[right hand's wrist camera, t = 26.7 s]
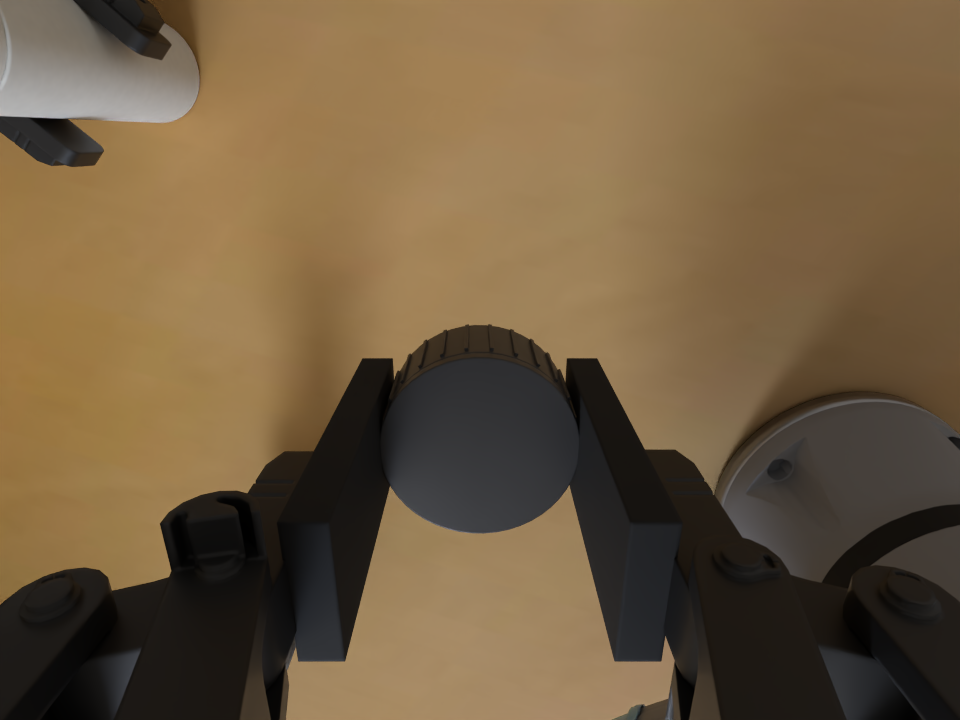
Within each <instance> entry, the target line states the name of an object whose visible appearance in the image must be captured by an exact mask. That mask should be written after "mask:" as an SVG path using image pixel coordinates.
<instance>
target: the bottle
mask: <svg viewBox="0 0 960 720" xmlns="http://www.w3.org/2000/svg"><path fill="white" fill-rule="evenodd" d="M159 33H161V34H162V35H163V36H164V37H165V38H166V39H167V40H168V41H169V42H170V43H171V44H172V46H171V47H170V49H169V50H168V52H167V54H166V55H165V57H164V58H163V60H158V59H154V58H150V57H145V56H142V55H140V54H138V53H136V52H134V51H133V50H131V49H130V48H128V47H127V46H126V45H125V44H123V43H122V42H121V41H120V40H119V39H118V38H116V37H115V36H114V35H113V34H112V33H111V32H109V31H108V30H107V29H106V28H105V27H104V26H102V25H101V24H100V23H99V22H98V21H97V20H95V19H94V18H93V17H92V16H91V15H90V14H88V13H87V12H86V11H85V10H84V9H83V8H81V7H80V6H79V5H78V4H77V3H76V2H74V1H73V0H0V116H12V117H35V118H59V119H83V120H107V121H131V122H155V123H165V122H171V121H174V120H177V119H179V118H181V117H182V116H184V115H185V114H186V113H187V112H188V111H189V110H190V109H191V108H192V106H193V104H194V103H195V100H196V98H197V95H198V92H199V85H200V77H199V70H198V65H197V62H196V59H195V57H194V54H193V52H192V50H191V49H190V47H189V45H188V44H187V43H186V41H185V40H184V39H183V38H182V37H181V36H180V34H179V33H177V32H176V31H175V30H174V29H173V28H171V27H170V26H168V25H167V24H165V23H164V25H163V26H162V28H161V29H160V31H159Z"/></svg>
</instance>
